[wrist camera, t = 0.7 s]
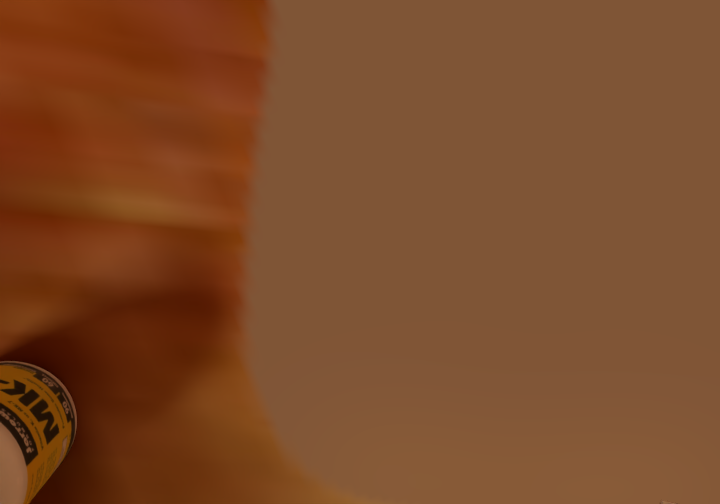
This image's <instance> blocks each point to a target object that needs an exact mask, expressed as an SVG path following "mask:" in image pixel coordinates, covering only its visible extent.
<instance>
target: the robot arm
mask: <svg viewBox="0 0 720 504" xmlns="http://www.w3.org/2000/svg"><path fill="white" fill-rule="evenodd" d="M660 504H676V503H672V502H667V501H663V500H661V502H660Z"/></svg>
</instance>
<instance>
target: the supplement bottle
mask: <svg viewBox="0 0 720 504" xmlns="http://www.w3.org/2000/svg"><path fill="white" fill-rule="evenodd" d="M76 429H77V415H76V409H75V405H74V402H73V400H72V397H71V395H70V393H69V392H68V390H67V389H66V387H65V386H64V385H63V384H62V382H61V381H60V380H59V379H57V378H56V377H55V376H54V375H53V374H51V373H50V372H48V371H46V370H44V369H42V368H40V367H38V366H35V365H32V364H29V363H24V362H18V361H2V362H0V504H29V503H30V501H31V500H32V499H33V498H34V497H35V495H36V494H37V493H38V491H39V490H40V489H41V488H42V487H43V485H44V484H45V483H46V481H47V480H48V479H49V478H50V477H51V475H52V474H53V473H54V471H55V470H56V469H57V468H58V466H59V465H60V464H61V463H62V461H63V460H64V459H65V457H66V456H67V454H68V452H69V450H70V448H71V446H72V444H73V441H74V438H75V434H76Z"/></svg>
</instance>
